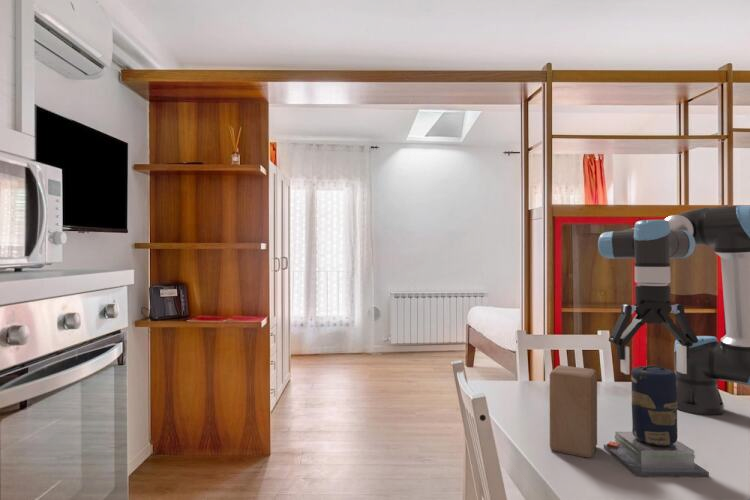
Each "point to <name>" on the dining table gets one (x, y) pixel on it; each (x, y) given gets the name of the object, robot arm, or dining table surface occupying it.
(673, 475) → the stand
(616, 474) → the dining table surface
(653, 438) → the canister
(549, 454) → the dining table surface
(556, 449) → the block
